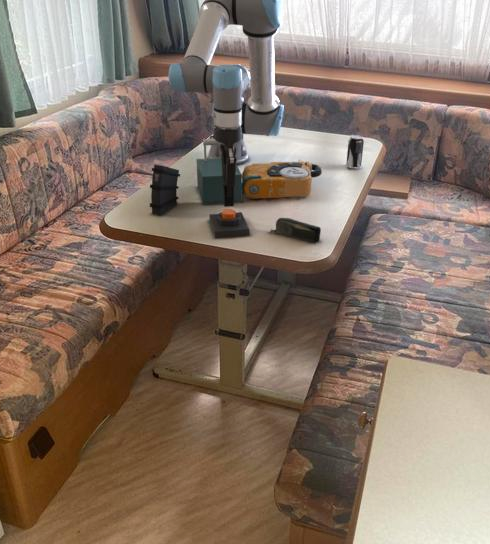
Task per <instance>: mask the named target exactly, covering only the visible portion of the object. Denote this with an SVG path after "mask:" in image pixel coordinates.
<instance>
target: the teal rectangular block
mask: <svg viewBox="0 0 490 544" xmlns="http://www.w3.org/2000/svg"><path fill="white" fill-rule="evenodd" d="M196 179H197V181H196V182H197V189H198V193H199V195H200V199H201V202H202V205H203V206H206V205H220V204H222V205H224V187H223V186H222V184H225V183H224V182H223V178H212V179H202V176H201V173H200V170H199V168H198V165H197V164H196ZM242 196H243V192H242V177H235V186H234V204H236V203H242V202H243V197H242Z"/></svg>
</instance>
